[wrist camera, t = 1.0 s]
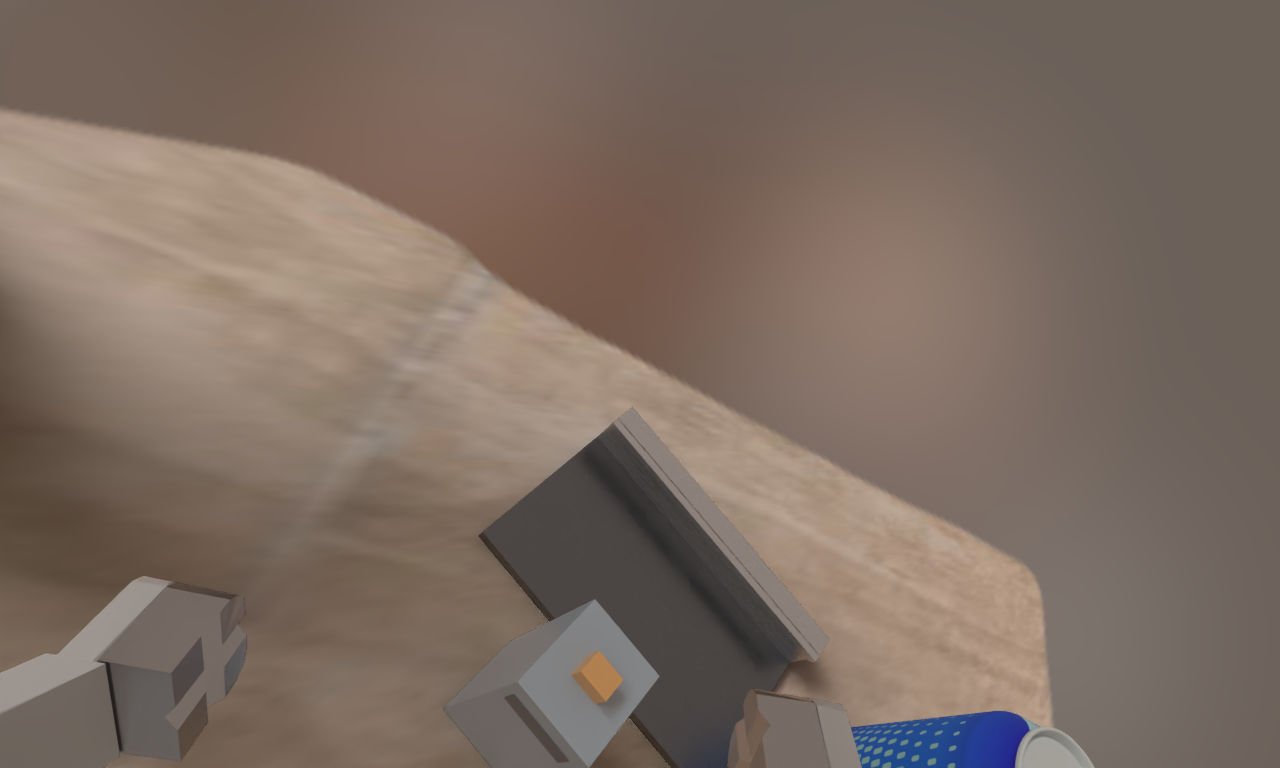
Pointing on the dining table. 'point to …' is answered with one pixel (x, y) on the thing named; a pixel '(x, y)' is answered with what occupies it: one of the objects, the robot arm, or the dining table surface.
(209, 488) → the dining table surface
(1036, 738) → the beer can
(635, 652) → the module
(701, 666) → the rail plate
